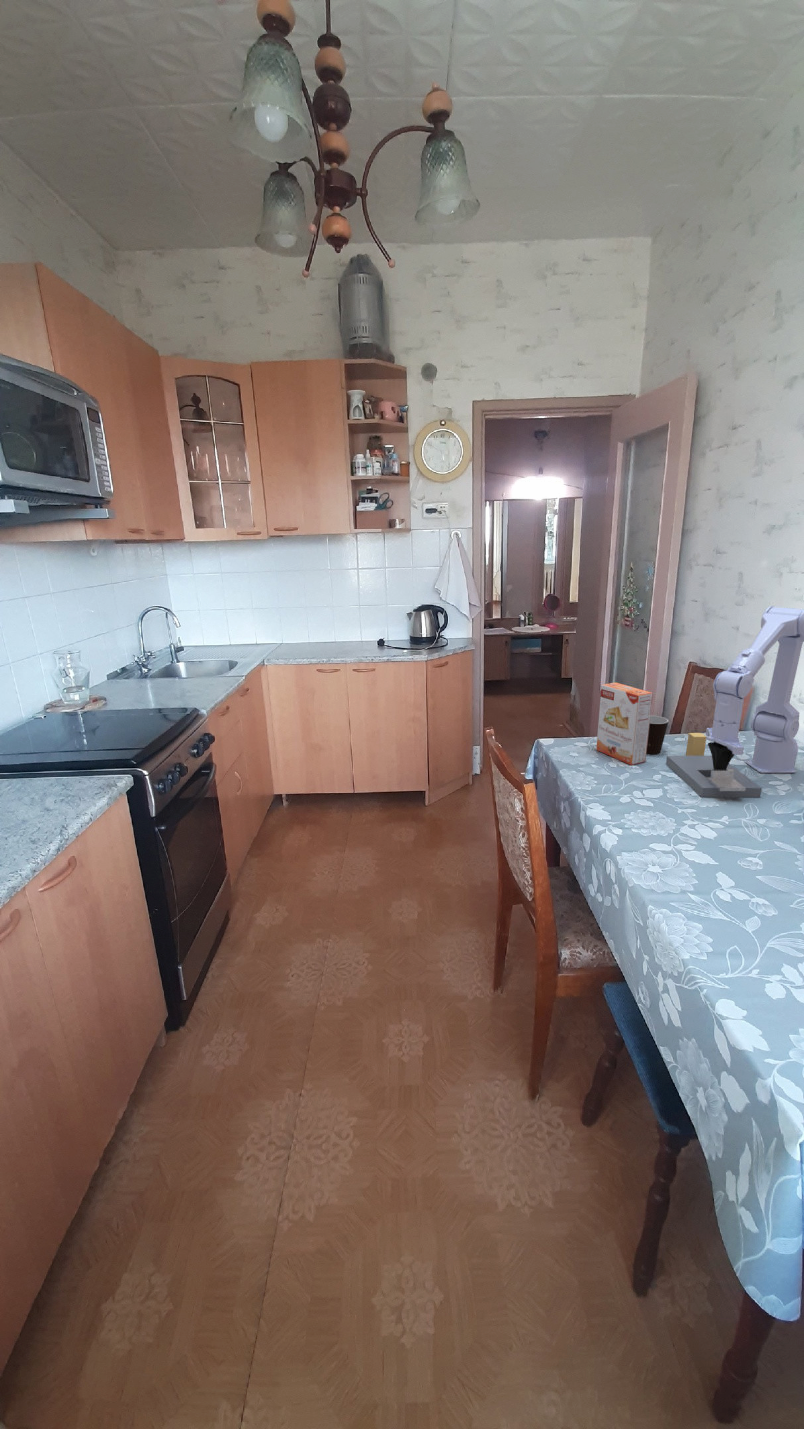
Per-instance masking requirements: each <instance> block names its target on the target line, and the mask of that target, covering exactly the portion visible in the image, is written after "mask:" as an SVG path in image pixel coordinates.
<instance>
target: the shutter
mask: <svg viewBox="0 0 804 1429" xmlns="http://www.w3.org/2000/svg"><path fill="white" fill-rule="evenodd" d="M733 776H734V770H733V769H712V771H711V777H710V778H708V782H710V783H711V784H712V785H713V786H714V787H715V788H717V789H718V790H719V791H745V789H746V788H745V787H744V786H742V785H741V784H740V783H739V782H737V781H736V780H735V779H733Z"/></svg>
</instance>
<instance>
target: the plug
mask: <svg viewBox="0 0 804 1429" xmlns="http://www.w3.org/2000/svg"><path fill="white" fill-rule="evenodd" d="M706 737H707V735H706V734H704V733H702V732H688V735H687V743H686V750H685V756H705V751H706V750H705V749H706V743H707V739H706Z"/></svg>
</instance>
